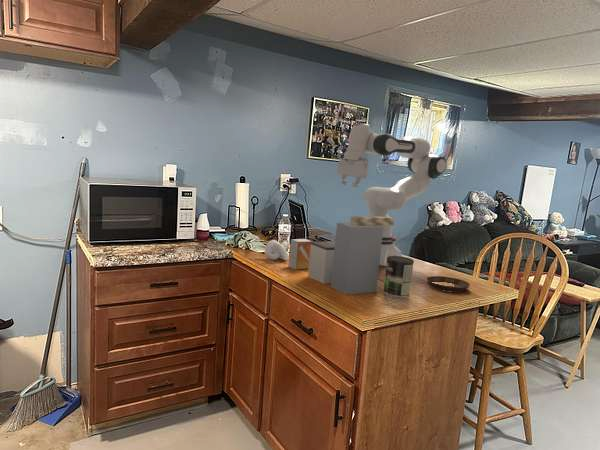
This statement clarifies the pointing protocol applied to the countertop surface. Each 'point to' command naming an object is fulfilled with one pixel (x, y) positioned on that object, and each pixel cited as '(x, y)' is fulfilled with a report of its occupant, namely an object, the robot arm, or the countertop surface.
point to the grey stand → (356, 258)
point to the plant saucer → (458, 284)
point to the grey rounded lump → (276, 250)
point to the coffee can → (398, 276)
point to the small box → (299, 253)
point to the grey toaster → (321, 261)
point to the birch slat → (371, 221)
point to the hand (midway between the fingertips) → (349, 185)
